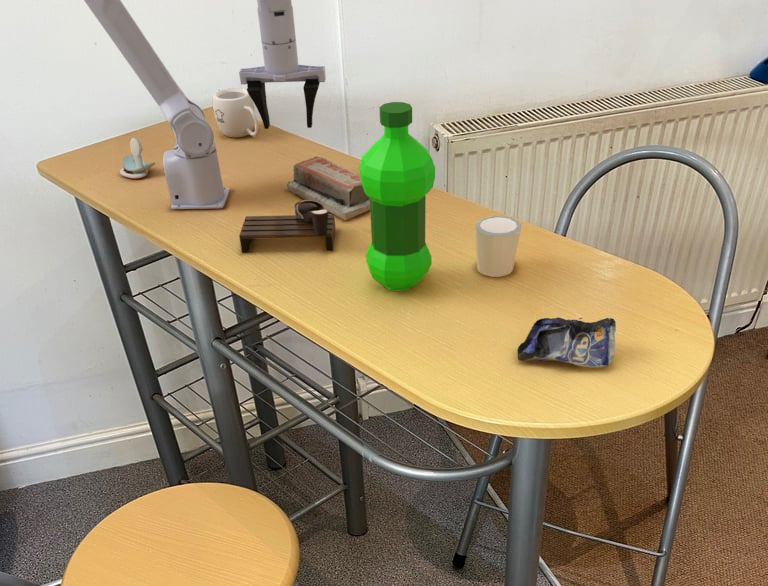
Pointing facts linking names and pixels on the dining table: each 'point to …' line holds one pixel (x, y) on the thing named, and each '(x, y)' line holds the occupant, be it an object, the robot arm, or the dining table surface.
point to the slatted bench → (282, 229)
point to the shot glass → (497, 245)
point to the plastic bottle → (397, 201)
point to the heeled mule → (313, 215)
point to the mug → (235, 112)
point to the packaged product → (330, 187)
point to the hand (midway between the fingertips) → (288, 126)
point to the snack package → (570, 342)
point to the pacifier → (139, 165)
